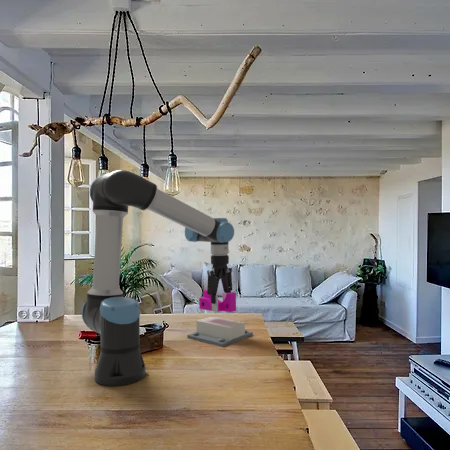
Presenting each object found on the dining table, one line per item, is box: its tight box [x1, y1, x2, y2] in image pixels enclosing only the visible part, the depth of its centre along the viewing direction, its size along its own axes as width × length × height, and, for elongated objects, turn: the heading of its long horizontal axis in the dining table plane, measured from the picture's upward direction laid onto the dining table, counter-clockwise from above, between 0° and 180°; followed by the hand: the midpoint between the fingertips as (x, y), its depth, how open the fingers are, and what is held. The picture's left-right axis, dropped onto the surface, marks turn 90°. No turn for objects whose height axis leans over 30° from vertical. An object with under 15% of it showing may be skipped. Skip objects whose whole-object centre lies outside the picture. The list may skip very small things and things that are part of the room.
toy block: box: [198, 289, 237, 313], centre depth 157 cm, size 15×6×8 cm, turn 51°
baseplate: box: [186, 316, 254, 348], centre depth 156 cm, size 20×19×6 cm
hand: (220, 309), depth 156 cm, fingers closed on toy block, 6 cm apart
